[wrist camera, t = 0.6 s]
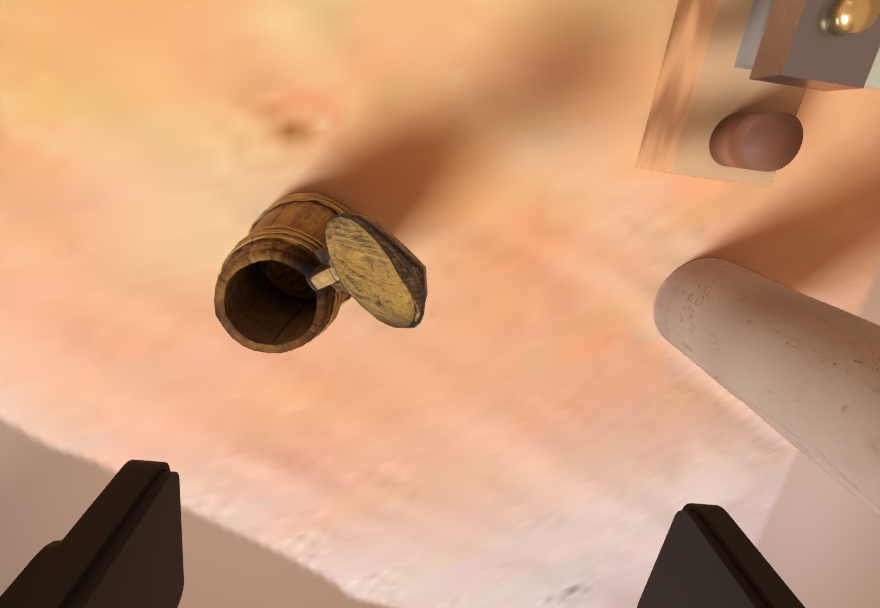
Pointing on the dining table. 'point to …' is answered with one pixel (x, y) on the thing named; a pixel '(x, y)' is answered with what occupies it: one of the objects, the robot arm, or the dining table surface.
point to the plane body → (720, 99)
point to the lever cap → (819, 44)
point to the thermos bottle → (784, 363)
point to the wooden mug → (314, 274)
